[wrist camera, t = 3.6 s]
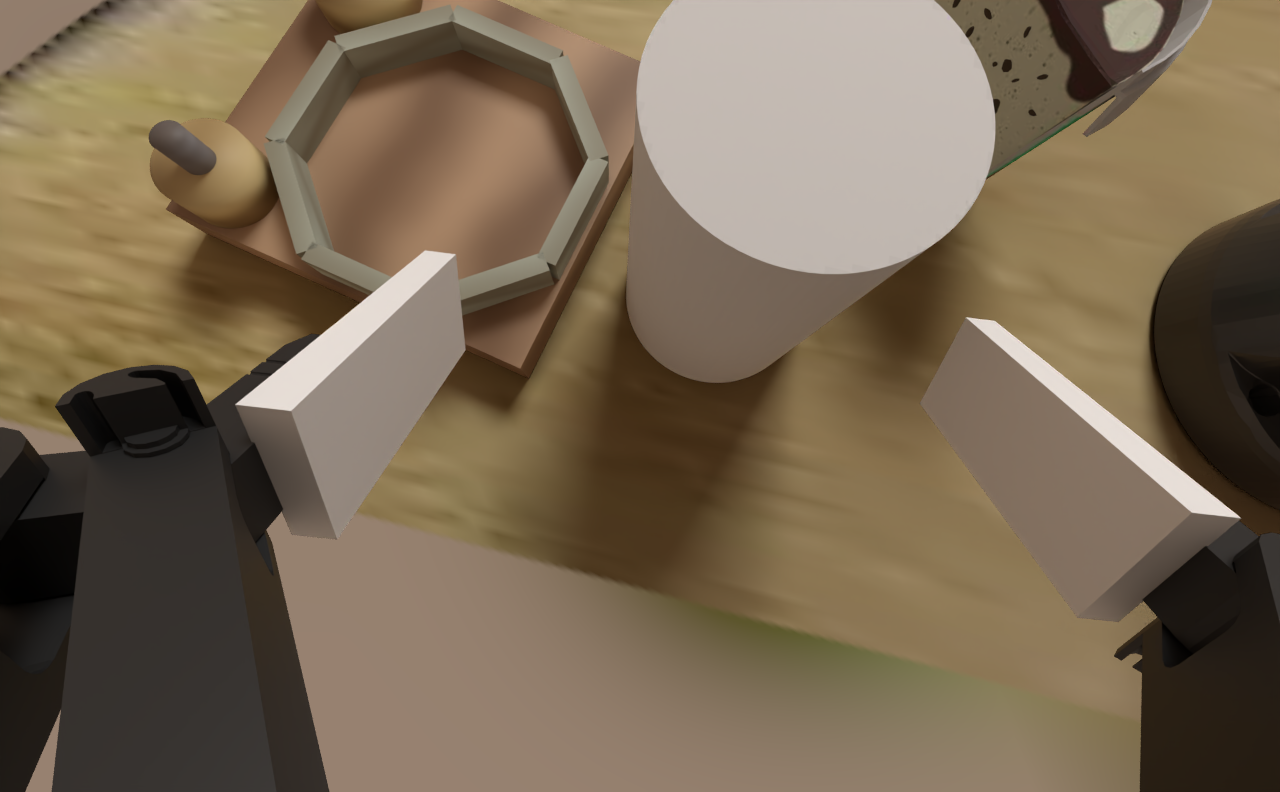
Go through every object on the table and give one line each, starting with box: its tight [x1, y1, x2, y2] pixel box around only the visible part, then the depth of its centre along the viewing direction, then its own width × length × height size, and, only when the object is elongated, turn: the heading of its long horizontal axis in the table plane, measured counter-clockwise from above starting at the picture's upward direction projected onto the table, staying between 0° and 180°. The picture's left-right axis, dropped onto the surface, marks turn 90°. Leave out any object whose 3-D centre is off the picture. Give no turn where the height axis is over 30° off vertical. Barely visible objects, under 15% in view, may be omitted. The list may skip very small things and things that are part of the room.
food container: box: [934, 0, 1212, 179], centre depth 20 cm, size 12×6×10 cm, turn 25°
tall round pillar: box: [626, 0, 995, 383], centre depth 17 cm, size 8×8×12 cm
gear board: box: [149, 0, 640, 378], centre depth 21 cm, size 16×15×5 cm
